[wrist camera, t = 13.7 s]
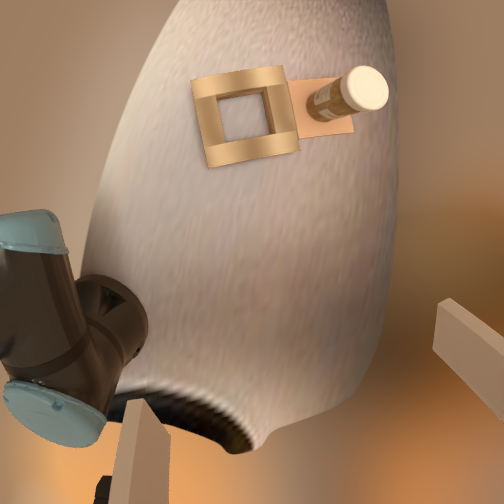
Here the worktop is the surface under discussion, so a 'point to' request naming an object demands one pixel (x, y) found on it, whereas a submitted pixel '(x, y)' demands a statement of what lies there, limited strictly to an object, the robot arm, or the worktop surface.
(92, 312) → the robot arm
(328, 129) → the terracotta tile
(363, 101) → the sprinkles bottle
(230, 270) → the worktop surface
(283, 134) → the socket block
